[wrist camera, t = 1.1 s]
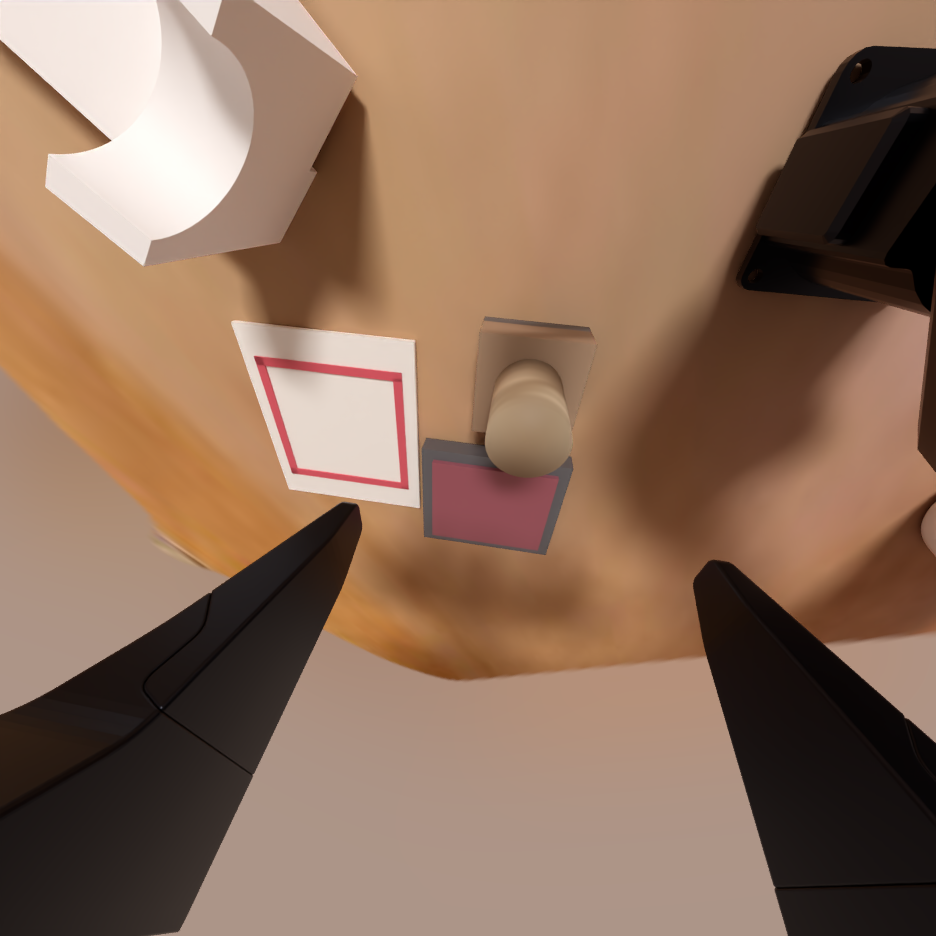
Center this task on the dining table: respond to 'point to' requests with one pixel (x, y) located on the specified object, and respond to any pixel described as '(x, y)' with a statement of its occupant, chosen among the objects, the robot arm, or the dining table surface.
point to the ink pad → (488, 499)
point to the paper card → (338, 409)
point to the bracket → (185, 115)
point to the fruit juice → (929, 529)
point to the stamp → (530, 392)
